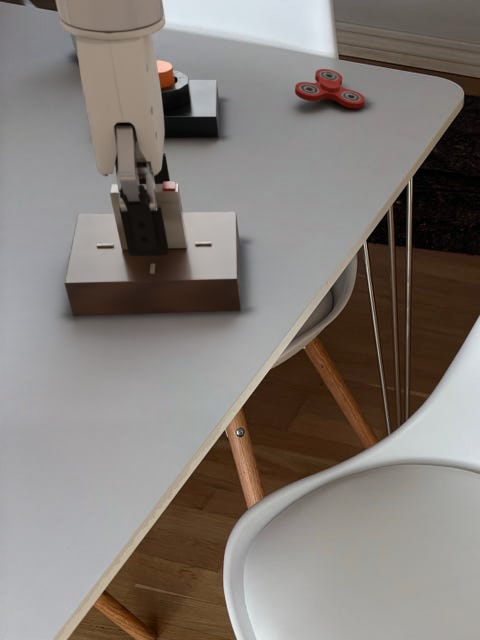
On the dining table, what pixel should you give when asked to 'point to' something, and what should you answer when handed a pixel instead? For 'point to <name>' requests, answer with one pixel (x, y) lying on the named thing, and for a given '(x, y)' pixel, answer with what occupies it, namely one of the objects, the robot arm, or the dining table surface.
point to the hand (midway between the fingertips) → (151, 225)
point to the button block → (190, 108)
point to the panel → (155, 269)
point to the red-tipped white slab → (170, 209)
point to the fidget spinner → (329, 90)
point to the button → (165, 74)
